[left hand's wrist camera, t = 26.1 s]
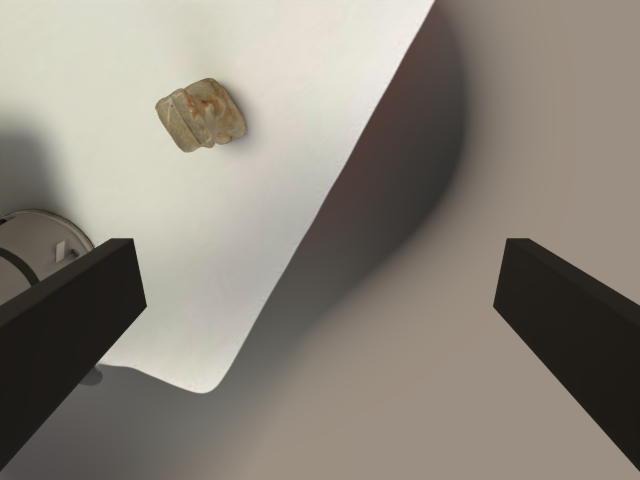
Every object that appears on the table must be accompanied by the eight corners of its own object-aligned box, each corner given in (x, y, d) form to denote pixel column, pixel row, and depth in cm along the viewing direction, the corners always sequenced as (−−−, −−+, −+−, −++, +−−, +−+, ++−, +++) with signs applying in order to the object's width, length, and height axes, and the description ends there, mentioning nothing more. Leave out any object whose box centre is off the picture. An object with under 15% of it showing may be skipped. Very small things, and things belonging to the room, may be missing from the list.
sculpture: (215, 148, 45) (168, 165, 31) (188, 93, 43) (123, 84, 29) (255, 131, 44) (225, 139, 30) (229, 74, 42) (184, 54, 28)
